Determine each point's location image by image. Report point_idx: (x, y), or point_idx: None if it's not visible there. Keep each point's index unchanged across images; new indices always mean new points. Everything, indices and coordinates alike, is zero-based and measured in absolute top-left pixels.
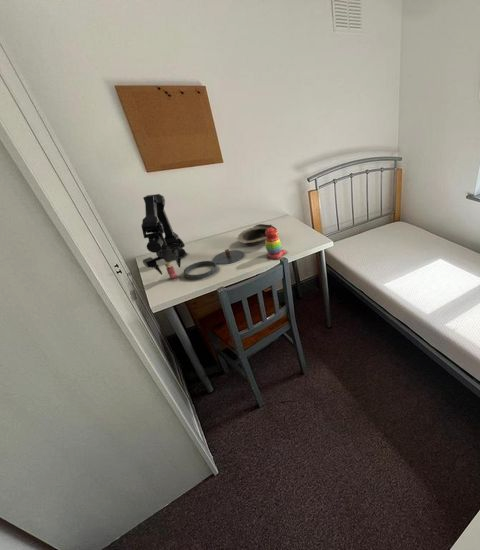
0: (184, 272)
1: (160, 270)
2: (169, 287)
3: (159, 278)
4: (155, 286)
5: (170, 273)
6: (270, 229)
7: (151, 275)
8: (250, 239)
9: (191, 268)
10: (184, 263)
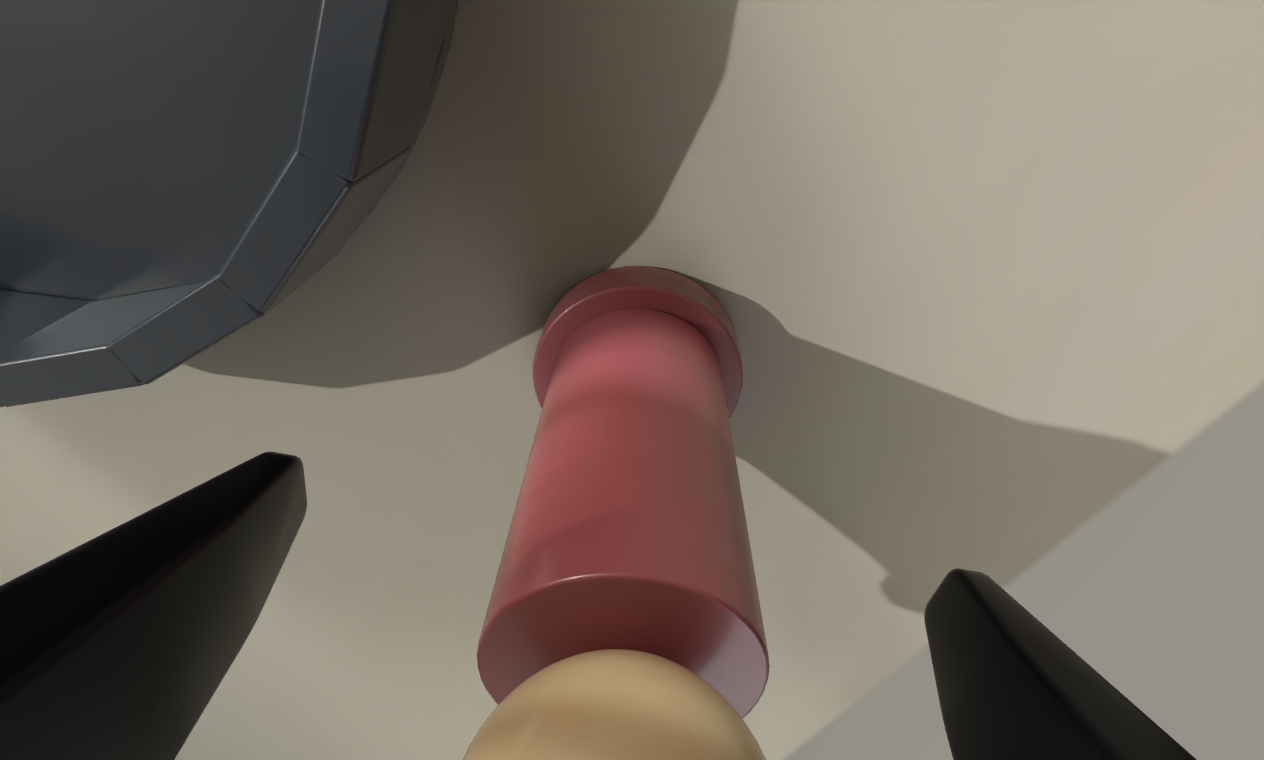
0: (346, 119)
1: (1123, 755)
2: (1105, 29)
3: None
4: (1065, 441)
5: (721, 446)
6: None
7: None
8: None
9: (75, 313)
10: None
